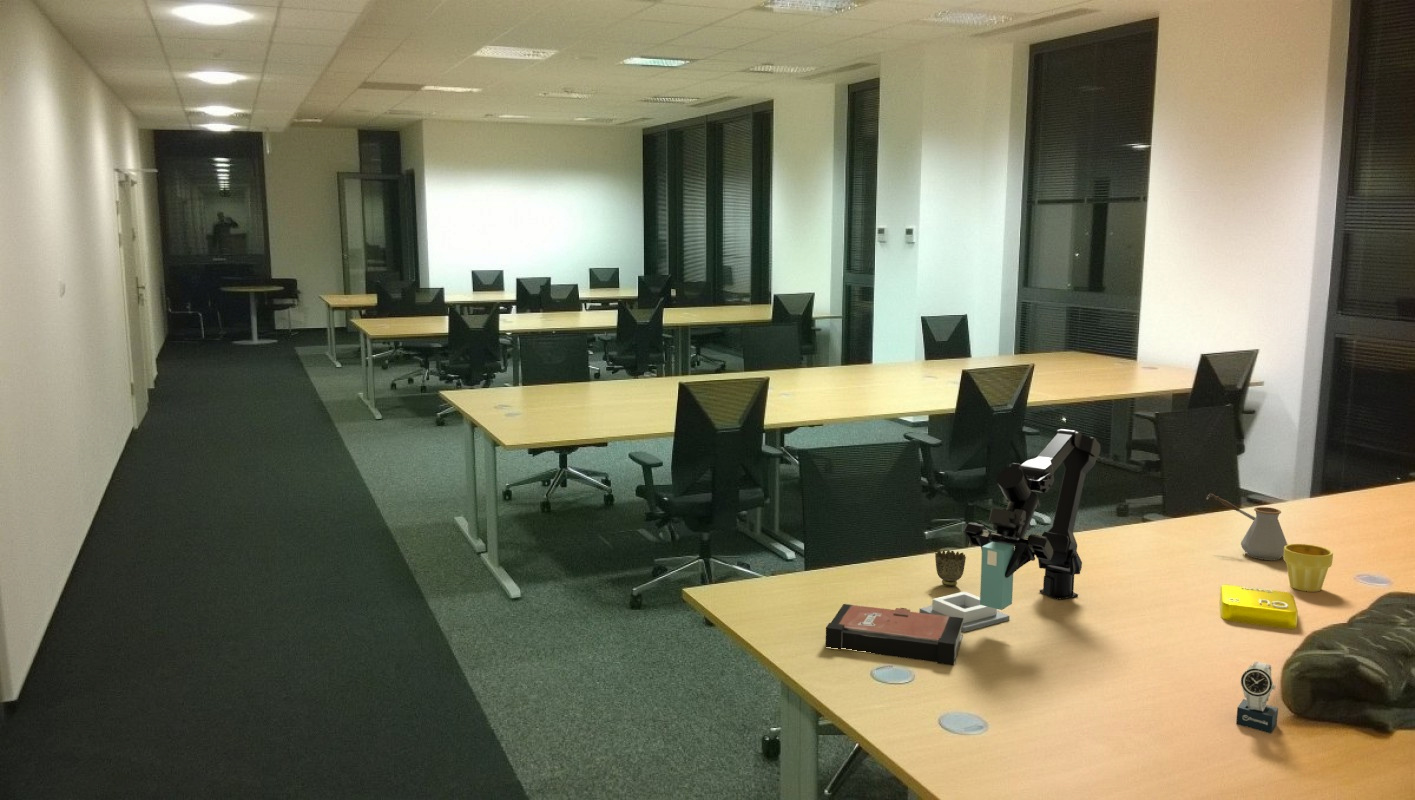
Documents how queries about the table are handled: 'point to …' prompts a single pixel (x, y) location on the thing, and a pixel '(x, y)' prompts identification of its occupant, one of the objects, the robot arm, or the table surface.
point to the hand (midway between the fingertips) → (994, 574)
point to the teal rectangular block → (996, 575)
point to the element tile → (1258, 606)
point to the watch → (1257, 699)
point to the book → (896, 633)
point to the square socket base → (965, 610)
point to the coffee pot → (1261, 533)
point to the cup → (950, 567)
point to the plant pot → (1307, 566)
